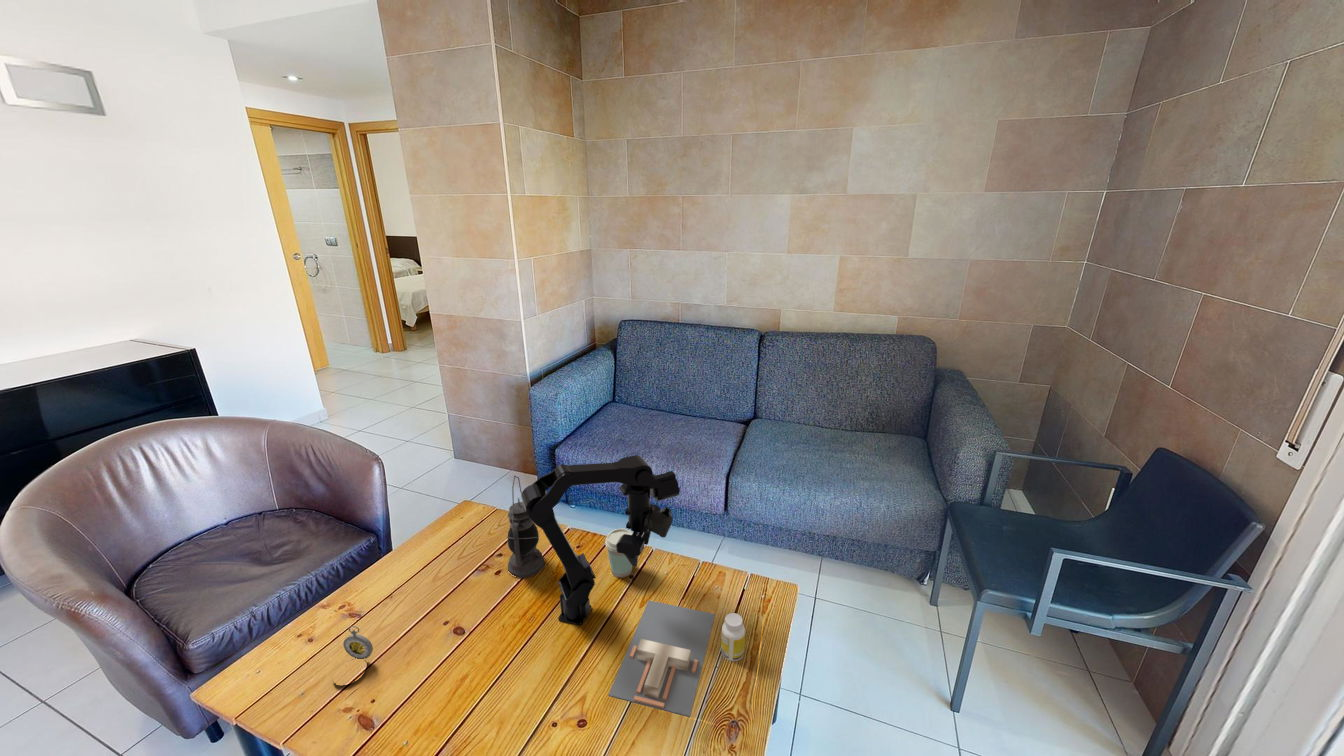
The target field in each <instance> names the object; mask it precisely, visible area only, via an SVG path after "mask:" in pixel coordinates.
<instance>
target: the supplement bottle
mask: <svg viewBox="0 0 1344 756" xmlns="http://www.w3.org/2000/svg"><path fill="white" fill-rule="evenodd" d="M743 620H744V619H743V617H742V616H741V615H740V614H738V613H737V612H736V613H735V612H729V613H728V614H726V615H725V618H724V623H723V624H722V626H721V637H720V638H721V639H720V640H721V641H720V642H721V644H720V645H721V647H720V649H721V650H720V651H721V655H722V656H723V658H724V659H726V660H728V661H730V662H737V661H740V660H742V659H743V657H744V655H745V646H746V644H745V643H746V641H745V639H746V628H745V625H744V624H743Z"/></svg>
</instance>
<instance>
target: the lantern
mask: <svg viewBox="0 0 1344 756" xmlns="http://www.w3.org/2000/svg"><path fill="white" fill-rule="evenodd" d="M515 479H517V480H518V485H519V486H518V487H519V491H520V494H522V492H523V490H522V487H521V482H520V477H519V476H517V475H513V480H512V487H511V488H512V490H511V492H512V493H511V494H512V504H511V506H509V509H508V511H507V512H508V513H507V517H508V521H509V523H510V524H509V530H508V531H507V536H506V538H507V542H506V543H507V547H508V549H509V550H510V551H511V553H512V554H511V555H510V557H509V560H508V562H507V567H508V570H507V572H508V571H509V572H510V573H511V574H512V575H514V576H516V577H518V578H517V579H526V578H530V577H533V576H535V575H537V574H539V573H540V572H541V571H542V570H543V568H544V567H545V563H546V562H545V560H546V559H545V558H544V556H543V553H542V552H541V551H540V550H539V549H538V548H537V546H538V544H539V541H540V534H539V531H538V526H537V525H536V524H535V523H534V522H533V521H532V520H531V519H530V518H529V517H528V516H527V514H526V511H525V508H524V505H523V502H522V501H520V497H517V502H515V501H514V498H515V497H514V496H515V495H514V487H515V486H514V485H515V482H516V481H515Z"/></svg>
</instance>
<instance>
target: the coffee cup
mask: <svg viewBox="0 0 1344 756" xmlns="http://www.w3.org/2000/svg"><path fill="white" fill-rule="evenodd" d="M624 534H628V535H632V534H633V531H632V530H631V529H628V528H624V527H623V528H622V527H621V528H616V529H613V530H611V531H610V532H609V533H608V534H607V536H606V538H605V542H604V545H605V547H606V549H607V553H608V554H607V555H608V561H609V566H610V570H611V571H610V572H611V575H612V576H613V577H616V578H626V577H628V576H630V575H631V573H632V571H633V566H632V565H631V563H630V562H629V560H628V559H627V557H626V556H625V555H624V554H623V553H618V552H617V551H616V544H617V542H618V541H619V539H620V537H621V536H622V535H624Z"/></svg>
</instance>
